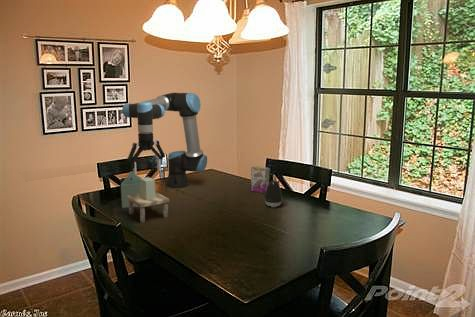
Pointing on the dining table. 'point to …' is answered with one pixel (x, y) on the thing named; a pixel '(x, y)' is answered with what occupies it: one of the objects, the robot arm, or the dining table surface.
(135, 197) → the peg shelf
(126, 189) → the teal gabled house
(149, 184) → the sage block
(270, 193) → the dark grey cone
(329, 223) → the dining table surface
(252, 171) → the candy bar box
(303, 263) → the dining table surface
